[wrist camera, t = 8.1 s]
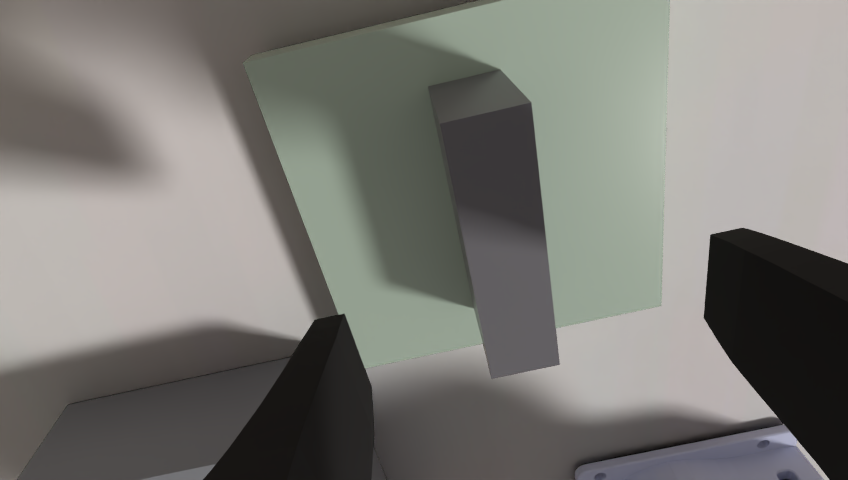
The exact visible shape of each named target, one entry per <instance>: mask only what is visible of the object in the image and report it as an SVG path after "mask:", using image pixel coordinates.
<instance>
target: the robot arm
mask: <svg viewBox="0 0 848 480" xmlns="http://www.w3.org/2000/svg"><path fill="white" fill-rule="evenodd" d="M704 319H705V320H706V322H707V324H708V325H709V327H710V329H711V330H712V332H713V333H714V335H715V337H716V338H717V340H718V342H719V343H720V345H721V346H722V348H723V349H724V351H725V352H726V354H727V355H728V357H729V358H730V360H731V361H732V363H733V364H734V365H735V366H736V368H737V369H738V370H739V371H740V373H741V374H742V375H743V376H744V377H745V379H746V380H747V381H748V382H749V383H750V385H751V386H752V387H753V388H754V389H755V391H756V392H757V393H758V394H759V395H760V397H761V398H762V399H763V400H764V401H765V402H766V404H767V405H768V406H769V407H770V408H771V410H772V411H773V412H774V413H775V414H776V415H777V417H778V418H779V419H780V420H781V421H782V423H783V424H784V425H779V426H774V427H769V428H764V429H759V430H754V431H749V432H744V433H739V434H734V435H729V436H724V437H719V438H714V439H709V440H704V441H699V442H694V443H689V444H684V445H679V446H674V447H669V448H664V449H659V450H654V451H649V452H644V453H639V454H634V455H629V456H624V457H619V458H614V459H609V460H604V461H599V462H594V463H589V464H584V465H581V466H580V467H578V468H577V470H576V471H575V480H824V479H823V478H822V477H821V475H820V474H819V473H818V472H817V471H816V469H815V468H814V467H813V466H812V465H811V463H810V462H809V461H808V460H807V459H806V457H805V456H804V455H803V454H802V452H801V451H800V450H799V449H798V448H797V446H796V443H797V440H798V441H799V443H800V444H801V445H802V446H803V447H804V449H805V450H806V451H807V452H808V453H809V454H810V456H811V457H812V458H813V459H814V460H815V461H816V463H817V464H818V465H819V467H820V468H821V469H822V470H823V472H824V473H825V474H826V475H827V477H828V478H829V479H830V480H848V263H845V262H842V261H839V260H836V259H834V258H831V257H828V256H825V255H822V254H820V253H817V252H814V251H811V250H808V249H806V248H803V247H800V246H797V245H794V244H792V243H789V242H786V241H783V240H780V239H777V238H774V237H772V236H768V235H765V234H762V233H759V232H756V231H753V230H749V229H745V228H739V229H735V230H730V231H725V232H721V233H716V234H711V235H710V247H709V260H708V272H707V285H706V297H705V310H704ZM373 448H374V418H373V401H372V387H371V384H370V381H369V378H368V376H367V373H366V370H365V368H364V365H363V362H362V359H361V357H360V354H359V351H358V349H357V346H356V343H355V340H354V338H353V335H352V332H351V329H350V327H349V324H348V321H347V319H346V316H345V313H344V314H340V315H335V316H330V317H326V318H321V319H317V320H314V322H313V323H312V325H311V326H310V328H309V330H308V331H307V333H306V334H305V336H304V337H303V339H302V340H301V342H300V344H299V345H298V347H297V348H296V350H295V352H294V353H293V355H292V357H291V358H290V360H289V361H288V363H287V364H286V366H285V368H284V369H283V371H282V372H281V374H280V375H279V377H278V378H277V380H276V381H275V383H274V385H273V386H272V388H271V389H270V391H269V392H268V394H267V395H266V397H265V398H264V400H263V401H262V403H261V404H260V406H259V407H258V409H257V410H256V411H255V413H254V414H253V416H252V417H251V418H250V420H249V421H248V422H247V424H246V425H245V427H244V428H243V429H242V431H241V432H240V433H239V435H238V436H237V438H236V439H235V440H234V442H233V443H232V444H231V446H230V447H229V448H228V450H227V451H226V452H225V453H224V455H223V456H222V457H221V458H220V460H219V461H218V462H217V463H216V465H215V466H214V467H213V468H212V470H211V471H210V472H209V473H208V474H207V475H206V477H205V478H204V479H203V480H371V479H372V464H373Z"/></svg>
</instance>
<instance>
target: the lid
mask: <svg viewBox="0 0 848 480" xmlns="http://www.w3.org/2000/svg"><path fill="white" fill-rule="evenodd" d="M669 13H670V0H478V1H474V2H469V3H465V4H461V5H457V6H453V7H449V8H445V9H440V10H436V11H432V12H428V13H424V14H420V15H416V16H411V17H407V18H403V19H399V20H395V21H391V22H387V23H382V24H378V25H374V26H370V27H366V28H362V29H358V30H354V31H349V32H345V33H341V34H337V35H333V36H329V37H325V38H320V39H316V40H312V41H308V42H304V43H300V44H296V45H291V46H287V47H283V48H279V49H275V50H271V51H267V52H262V53H258V54H254V55H252V56H250V57H249V58H248V59H247V60H246V61H245V62H243V65H244V68H245V70H246V73H247V76H248V78H249V81H250V83H251V86H252V89H253V91H254V94H255V97H256V99H257V102H258V104H259V107H260V110H261V112H262V115H263V118H264V120H265V123H266V125H267V128H268V131H269V133H270V136H271V139H272V141H273V144H274V146H275V149H276V152H277V154H278V157H279V160H280V162H281V165H282V167H283V170H284V173H285V175H286V178H287V181H288V183H289V186H290V189H291V191H292V194H293V196H294V199H295V202H296V204H297V207H298V210H299V212H300V215H301V217H302V220H303V223H304V225H305V228H306V231H307V233H308V236H309V238H310V241H311V244H312V246H313V249H314V252H315V254H316V257H317V259H318V262H319V265H320V267H321V270H322V273H323V275H324V278H325V280H326V283H327V286H328V288H329V291H330V294H331V296H332V299H333V301H334V304H335V307H336V309H337V312H338V315H340V314H344V313H345V316H346V319H347V321H348V324H349V327H350V329H351V332H352V335H353V338H354V340H355V343H356V346H357V349H358V351H359V354H360V357H361V359H362V362H363V365H364V368H370V367H375V366H380V365H384V364H389V363H394V362H399V361H403V360H408V359H413V358H417V357H422V356H427V355H432V354H436V353H441V352H446V351H451V350H455V349H460V348H465V347H470V346H474V345H479V344H483V346H484V350H485V354H486V358H487V362H488V366H489V370H490V374H491V378H492V379H493V378H498V377H503V376H507V375H512V374H517V373H522V372H527V371H531V370H536V369H541V368H546V367H551V366H555V365H560V364H559V354H558V345H557V336H556V328H559V327H564V326H569V325H574V324H578V323H583V322H588V321H593V320H597V319H602V318H607V317H612V316H616V315H621V314H626V313H630V312H635V311H640V310H645V309H649V308H654V307H659V306H661V298H662V263H663V227H664V191H665V156H666V120H667V85H668V49H669Z"/></svg>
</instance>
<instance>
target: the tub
mask: <svg viewBox="0 0 848 480" xmlns="http://www.w3.org/2000/svg"><path fill="white" fill-rule="evenodd" d="M290 358H291V357H289V358H285V359H280V360H275V361H271V362H266V363H261V364H257V365H252V366H247V367H243V368H238V369H233V370H228V371H224V372H219V373H214V374H210V375H205V376H200V377H196V378H191V379H186V380H182V381H177V382H172V383H168V384H163V385H158V386H154V387H149V388H144V389H140V390H135V391H130V392H126V393H121V394H116V395H111V396H107V397H102V398H97V399H93V400H88V401H83V402H79V403H74V404H69V405H67V407H66V408H65V410H64V411H63V412H62V414H61V415H60V417H59V418H58V420H57V421H56V423H55V424H54V426H53V427H52V429H51V430H50V432H49V433H48V435H47V436H46V437H45V439H44V440H43V442H42V443H41V445H40V446H39V448H38V449H37V451H36V452H35V454H34V455H33V457H32V458H31V460H30V461H29V462H28V464H27V465H26V467H25V468H24V470H23V471H22V473H21V474H20V476H19V477H18V479H17V480H203V479H204V478H205V477H206V475H207V474H208V473H209V472H210V471H211V470H212V468H213V467H214V466H215V465H216V463H217V462H218V461H219V460H220V458H221V457H222V456H223V455H224V453H225V452H226V451H227V450H228V448H229V447H230V446H231V444H232V443H233V442H234V440H235V439H236V438H237V436H238V435H239V433H240V432H241V431H242V429H243V428H244V427H245V425H246V424H247V422H248V421H249V420H250V418H251V417H252V416H253V414H254V413H255V411H256V410H257V409H258V407H259V406H260V404H261V403H262V401H263V400H264V398H265V397H266V395H267V394H268V392H269V391H270V389H271V388H272V386H273V385H274V383H275V381H276V380H277V378H278V377H279V375H280V374H281V372H282V371H283V369H284V368H285V366H286V364H287V363H288V361H289V360H290ZM371 480H387V479H386V477H385V474H384V472H383V469H382V467H381V464H380V462H379V459H378V457H377V454H376V452H375V449H374V448H373V464H372V479H371Z"/></svg>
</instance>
